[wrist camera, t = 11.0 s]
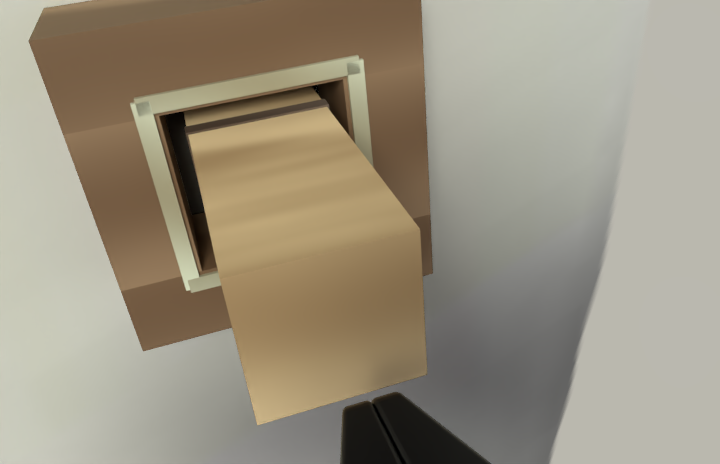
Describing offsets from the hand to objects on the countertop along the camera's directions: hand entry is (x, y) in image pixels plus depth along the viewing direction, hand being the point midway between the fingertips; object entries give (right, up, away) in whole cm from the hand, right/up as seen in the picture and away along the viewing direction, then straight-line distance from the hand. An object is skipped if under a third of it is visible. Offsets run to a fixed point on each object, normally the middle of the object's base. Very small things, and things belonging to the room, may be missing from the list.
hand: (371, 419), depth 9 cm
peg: (-3, +5, +9) cm, 11 cm away
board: (-3, +5, +9) cm, 11 cm away
